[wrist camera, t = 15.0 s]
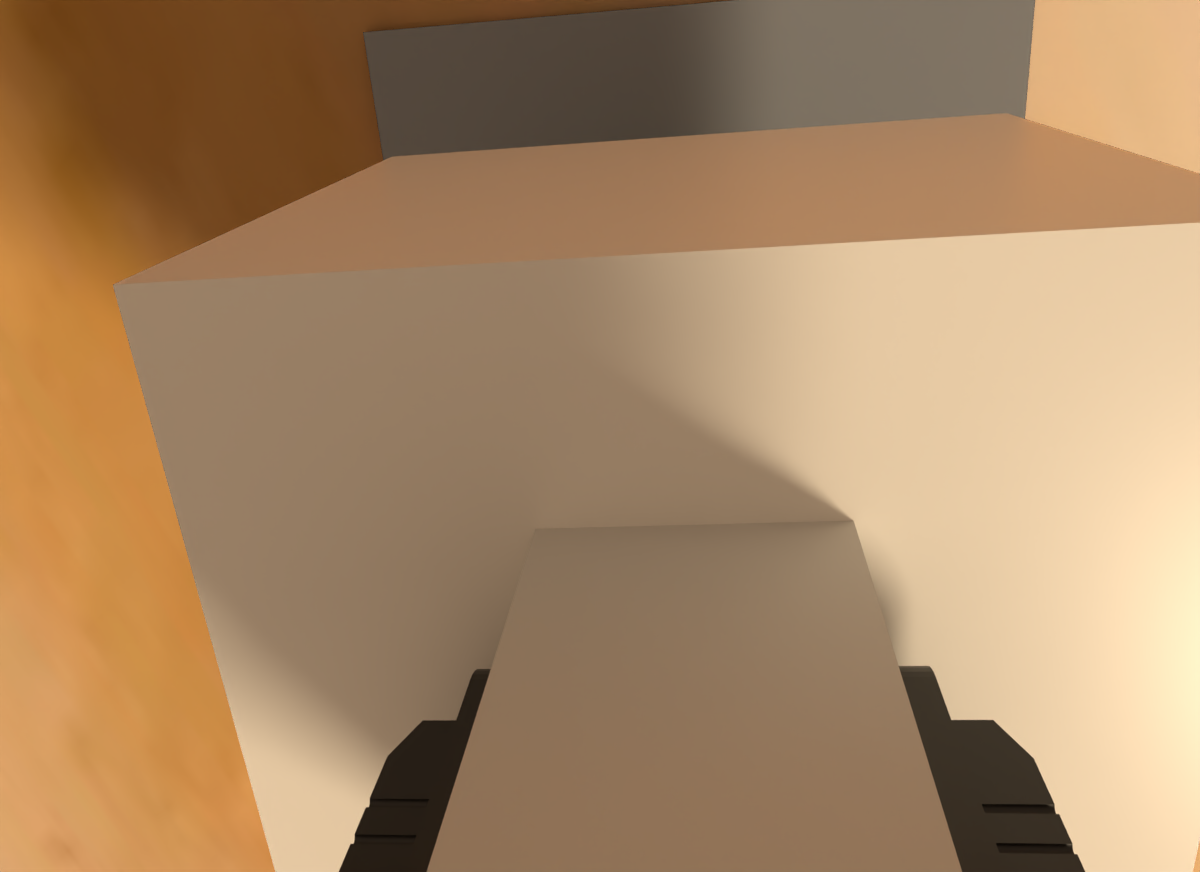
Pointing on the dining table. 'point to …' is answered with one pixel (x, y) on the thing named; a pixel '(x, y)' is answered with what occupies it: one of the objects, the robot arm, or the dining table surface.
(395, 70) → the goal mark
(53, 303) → the dining table surface
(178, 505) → the cream plinth with post
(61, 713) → the dining table surface
